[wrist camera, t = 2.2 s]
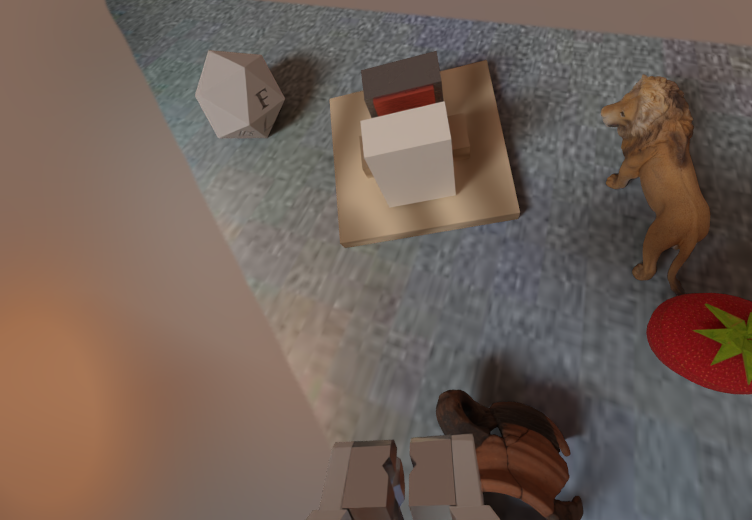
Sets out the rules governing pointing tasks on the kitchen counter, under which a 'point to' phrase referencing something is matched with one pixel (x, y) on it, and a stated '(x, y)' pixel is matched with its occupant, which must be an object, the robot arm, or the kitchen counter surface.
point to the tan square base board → (470, 161)
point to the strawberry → (705, 340)
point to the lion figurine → (660, 170)
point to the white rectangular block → (410, 154)
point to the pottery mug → (513, 451)
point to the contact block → (402, 85)
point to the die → (239, 95)
